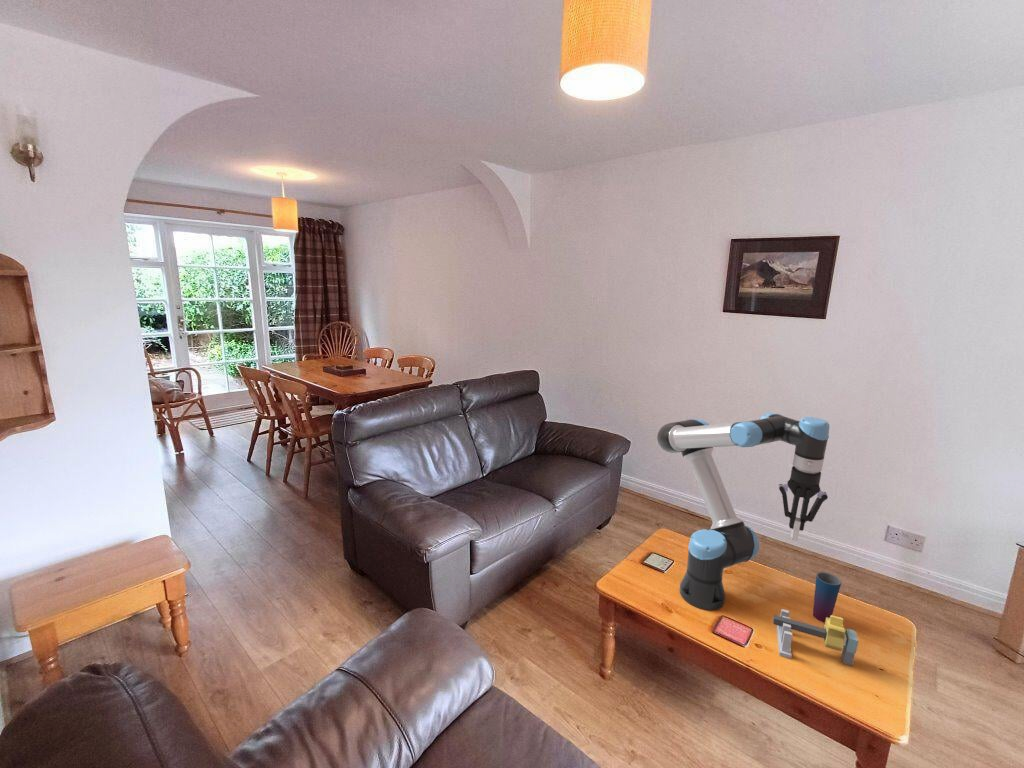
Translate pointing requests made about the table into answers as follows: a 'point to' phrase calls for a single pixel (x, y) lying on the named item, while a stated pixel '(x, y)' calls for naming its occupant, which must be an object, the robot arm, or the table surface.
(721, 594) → the robot arm
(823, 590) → the cup
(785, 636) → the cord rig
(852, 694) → the table surface
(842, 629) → the sleeve
